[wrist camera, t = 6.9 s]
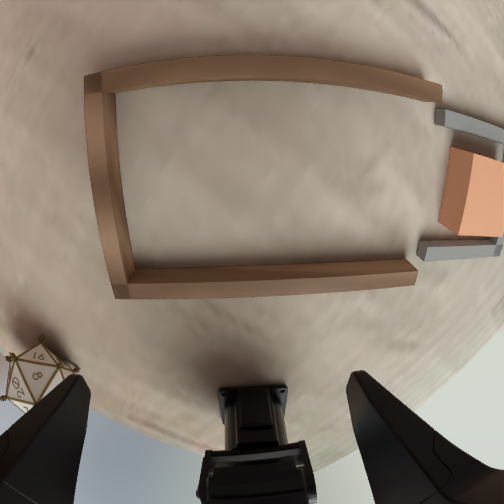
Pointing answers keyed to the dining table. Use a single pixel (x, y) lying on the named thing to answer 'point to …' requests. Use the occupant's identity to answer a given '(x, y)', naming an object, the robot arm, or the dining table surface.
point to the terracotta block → (473, 195)
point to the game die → (34, 375)
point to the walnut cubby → (230, 277)
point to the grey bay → (463, 248)
